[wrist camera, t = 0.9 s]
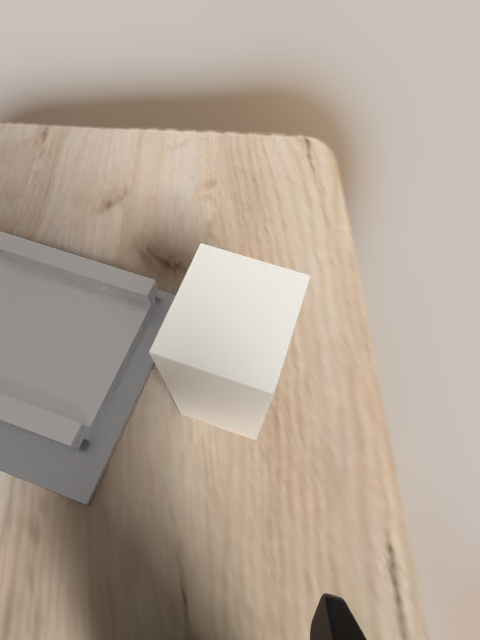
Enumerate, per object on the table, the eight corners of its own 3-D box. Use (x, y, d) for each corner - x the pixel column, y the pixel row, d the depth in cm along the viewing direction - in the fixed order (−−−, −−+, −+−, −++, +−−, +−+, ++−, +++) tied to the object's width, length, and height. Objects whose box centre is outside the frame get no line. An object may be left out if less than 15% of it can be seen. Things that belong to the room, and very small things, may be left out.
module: (255, 440, 22) (273, 394, 13) (180, 413, 23) (148, 352, 14) (280, 361, 24) (310, 275, 15) (211, 339, 25) (200, 243, 16)
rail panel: (89, 504, 21) (74, 504, 19) (-133, 416, 22) (-168, 407, 20) (183, 300, 26) (179, 283, 24) (0, 241, 28) (-18, 221, 26)
